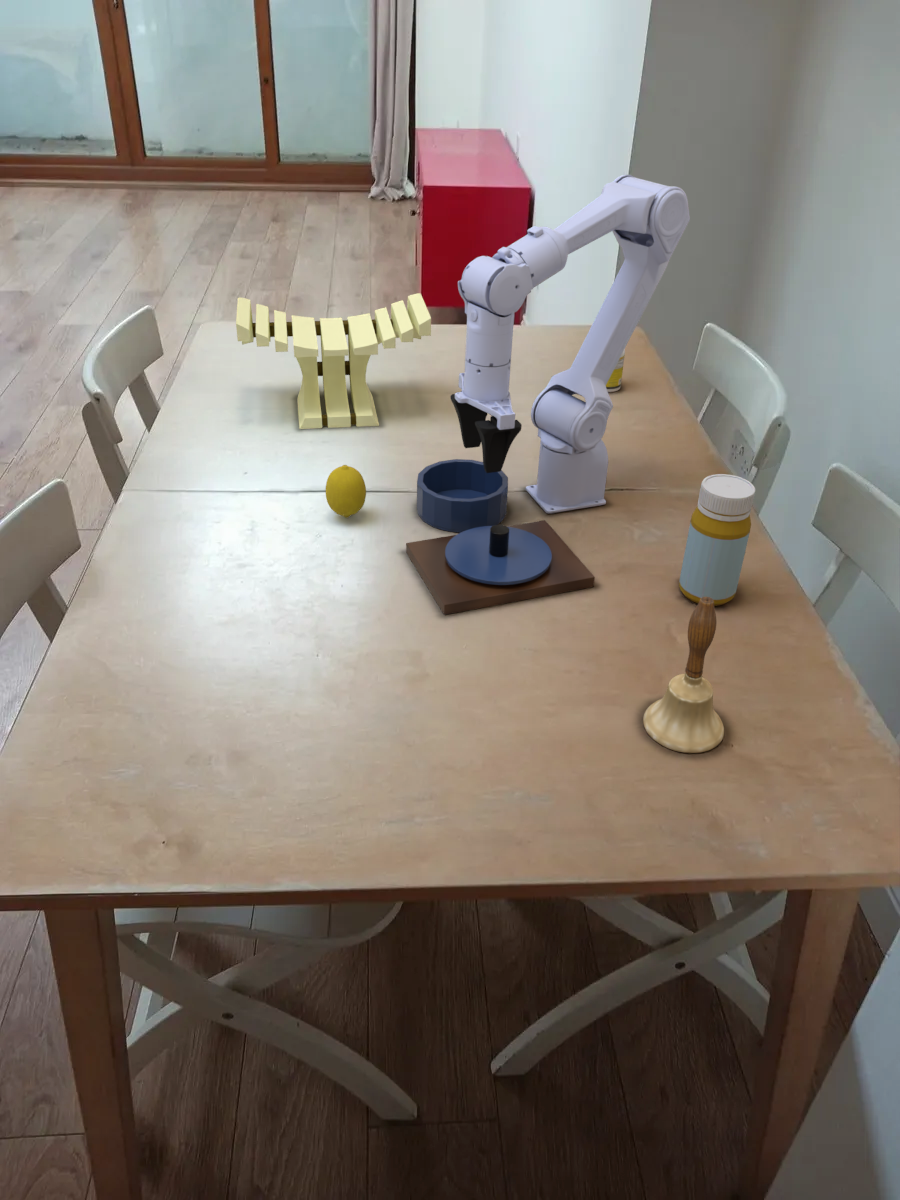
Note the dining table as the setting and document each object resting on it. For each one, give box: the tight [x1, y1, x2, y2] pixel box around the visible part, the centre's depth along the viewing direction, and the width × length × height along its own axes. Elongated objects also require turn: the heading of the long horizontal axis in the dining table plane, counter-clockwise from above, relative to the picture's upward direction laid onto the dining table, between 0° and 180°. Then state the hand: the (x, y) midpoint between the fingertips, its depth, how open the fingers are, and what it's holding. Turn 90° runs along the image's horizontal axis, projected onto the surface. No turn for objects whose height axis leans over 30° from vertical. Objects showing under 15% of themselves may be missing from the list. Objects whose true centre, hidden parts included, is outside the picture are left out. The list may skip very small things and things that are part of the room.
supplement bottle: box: [606, 348, 626, 393], centre depth 174 cm, size 5×5×10 cm
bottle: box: [678, 473, 756, 607], centre depth 118 cm, size 7×7×15 cm
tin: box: [416, 458, 509, 534], centre depth 137 cm, size 13×13×5 cm
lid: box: [445, 524, 552, 585], centre depth 123 cm, size 14×14×4 cm
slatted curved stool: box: [235, 292, 432, 430], centre depth 161 cm, size 30×16×18 cm, turn 99°
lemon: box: [325, 464, 367, 519], centre depth 133 cm, size 6×6×8 cm
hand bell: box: [642, 596, 725, 754], centre depth 97 cm, size 8×8×16 cm
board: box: [405, 519, 596, 616], centre depth 125 cm, size 20×15×2 cm
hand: (482, 458), depth 128 cm, fingers open, 7 cm apart
